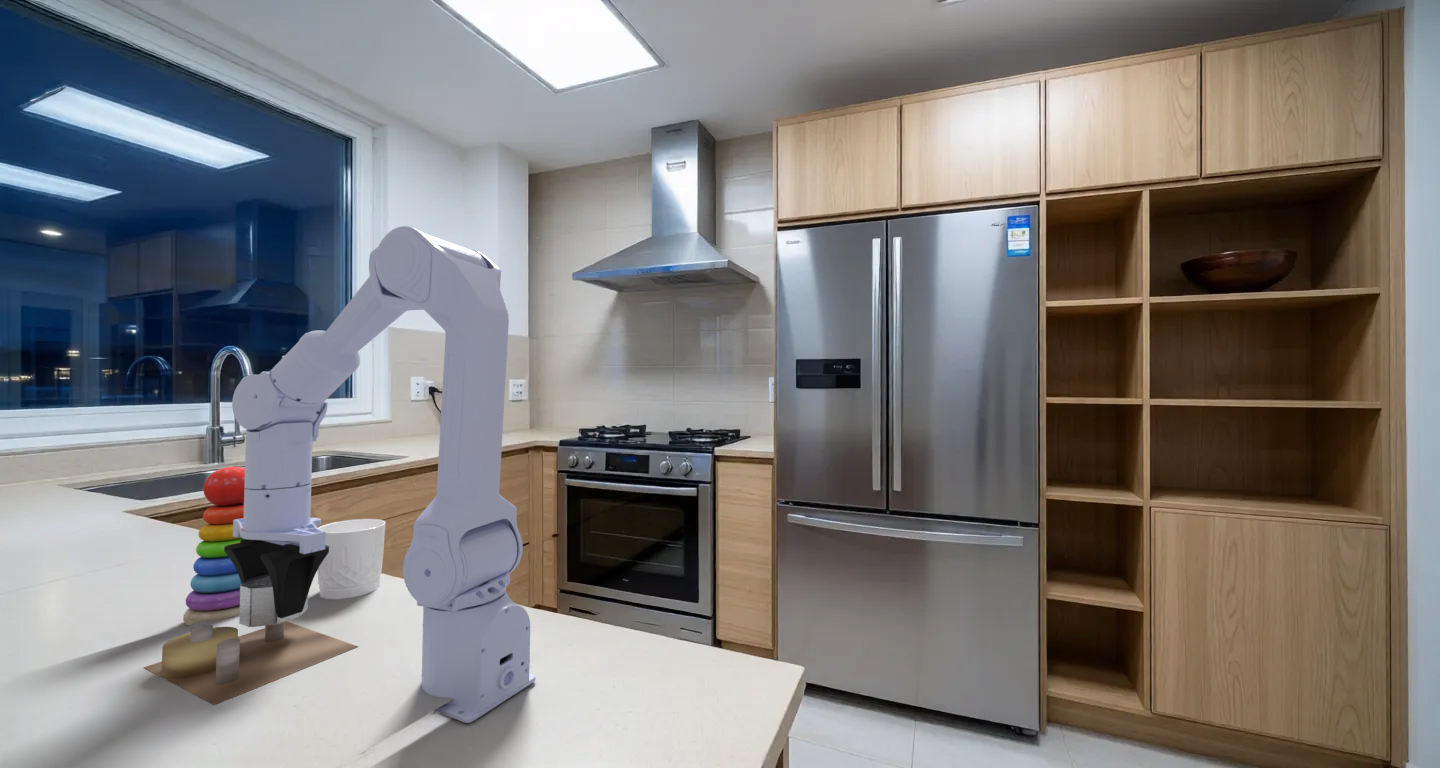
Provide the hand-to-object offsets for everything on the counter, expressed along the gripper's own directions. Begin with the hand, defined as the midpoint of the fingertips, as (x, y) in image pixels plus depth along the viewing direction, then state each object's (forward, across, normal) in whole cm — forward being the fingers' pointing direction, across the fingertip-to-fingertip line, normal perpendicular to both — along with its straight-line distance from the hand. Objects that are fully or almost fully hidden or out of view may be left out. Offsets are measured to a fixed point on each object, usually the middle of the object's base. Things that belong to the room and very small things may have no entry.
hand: (275, 609), depth 59 cm
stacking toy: (+5, +15, -2) cm, 16 cm away
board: (+4, -3, +3) cm, 6 cm away
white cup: (+5, +8, -12) cm, 16 cm away
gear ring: (+1, 0, 0) cm, 1 cm away
